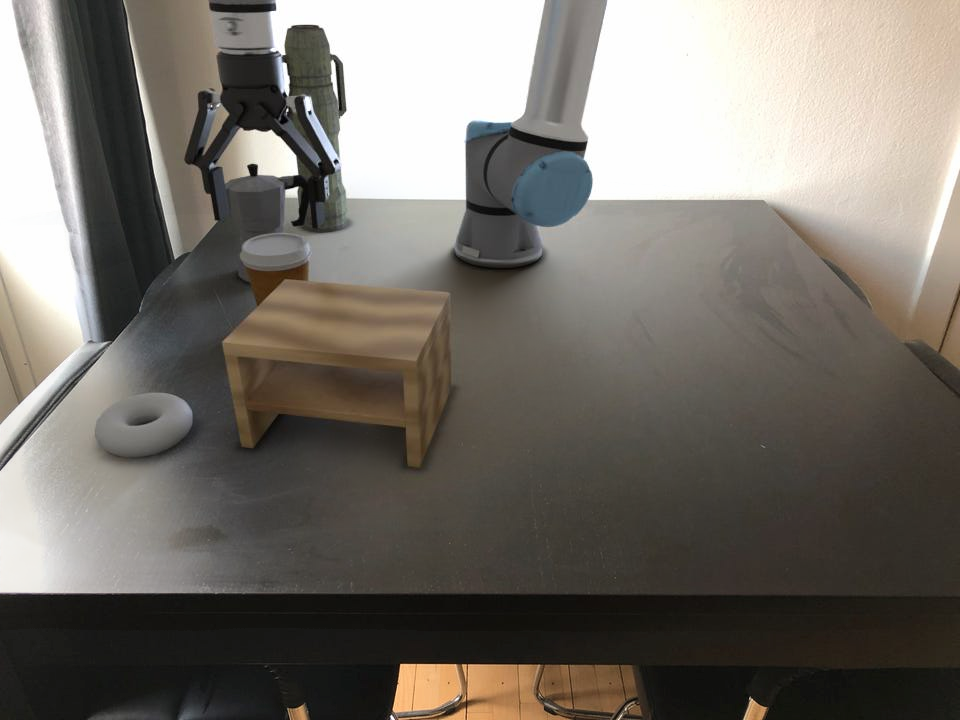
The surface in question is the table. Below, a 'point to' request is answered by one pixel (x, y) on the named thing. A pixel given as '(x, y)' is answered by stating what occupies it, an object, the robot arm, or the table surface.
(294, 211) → the table surface
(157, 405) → the donut
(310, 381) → the shelf
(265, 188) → the coffeepot
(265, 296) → the disposable coffee cup
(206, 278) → the table surface
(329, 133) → the thermos
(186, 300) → the table surface
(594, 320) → the table surface
